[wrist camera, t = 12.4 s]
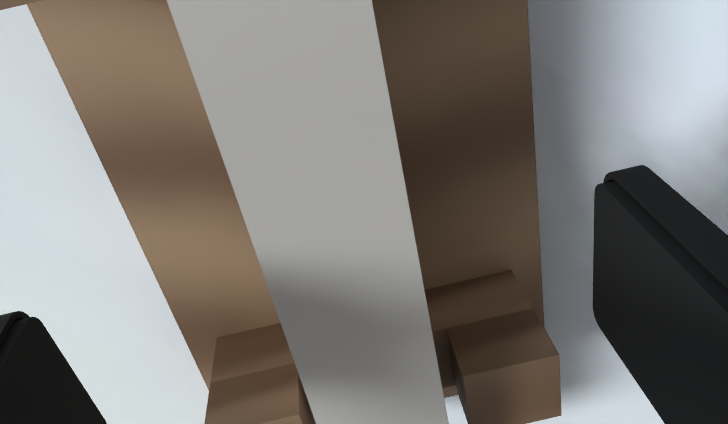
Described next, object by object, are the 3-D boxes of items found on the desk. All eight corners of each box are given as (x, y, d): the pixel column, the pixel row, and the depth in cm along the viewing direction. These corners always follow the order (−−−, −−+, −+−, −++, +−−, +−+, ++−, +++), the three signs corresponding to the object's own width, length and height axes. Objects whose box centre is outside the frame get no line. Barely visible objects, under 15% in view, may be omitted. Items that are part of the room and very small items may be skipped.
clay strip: (120, -285, 10) (39, -360, 7) (291, -325, 10) (295, -419, 7) (354, 453, 21) (368, 572, 17) (440, 433, 21) (471, 548, 17)
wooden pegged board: (-89, -290, 12) (-293, -374, 8) (488, -422, 12) (600, -578, 8) (236, 424, 23) (226, 550, 19) (536, 355, 23) (594, 465, 19)
